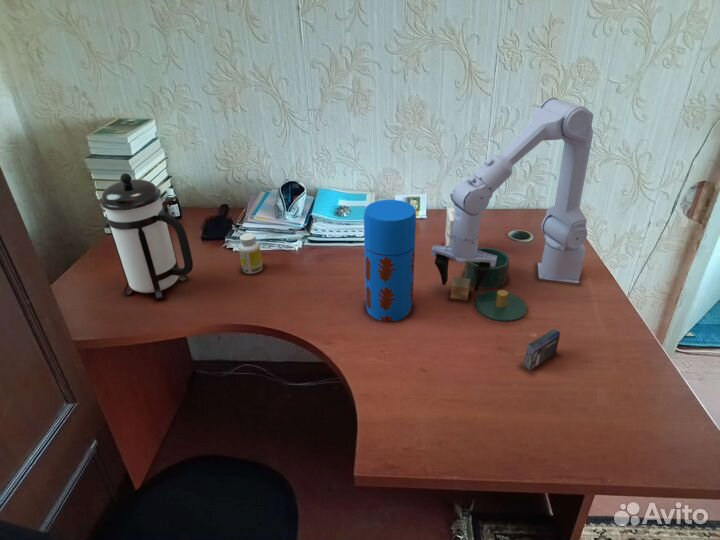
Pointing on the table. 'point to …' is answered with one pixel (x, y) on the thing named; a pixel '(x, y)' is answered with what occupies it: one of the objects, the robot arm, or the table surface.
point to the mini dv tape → (541, 349)
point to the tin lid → (500, 306)
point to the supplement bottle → (250, 254)
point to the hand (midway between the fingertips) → (460, 285)
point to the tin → (494, 275)
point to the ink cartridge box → (449, 226)
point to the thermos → (389, 258)
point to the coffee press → (144, 236)
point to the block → (460, 288)
